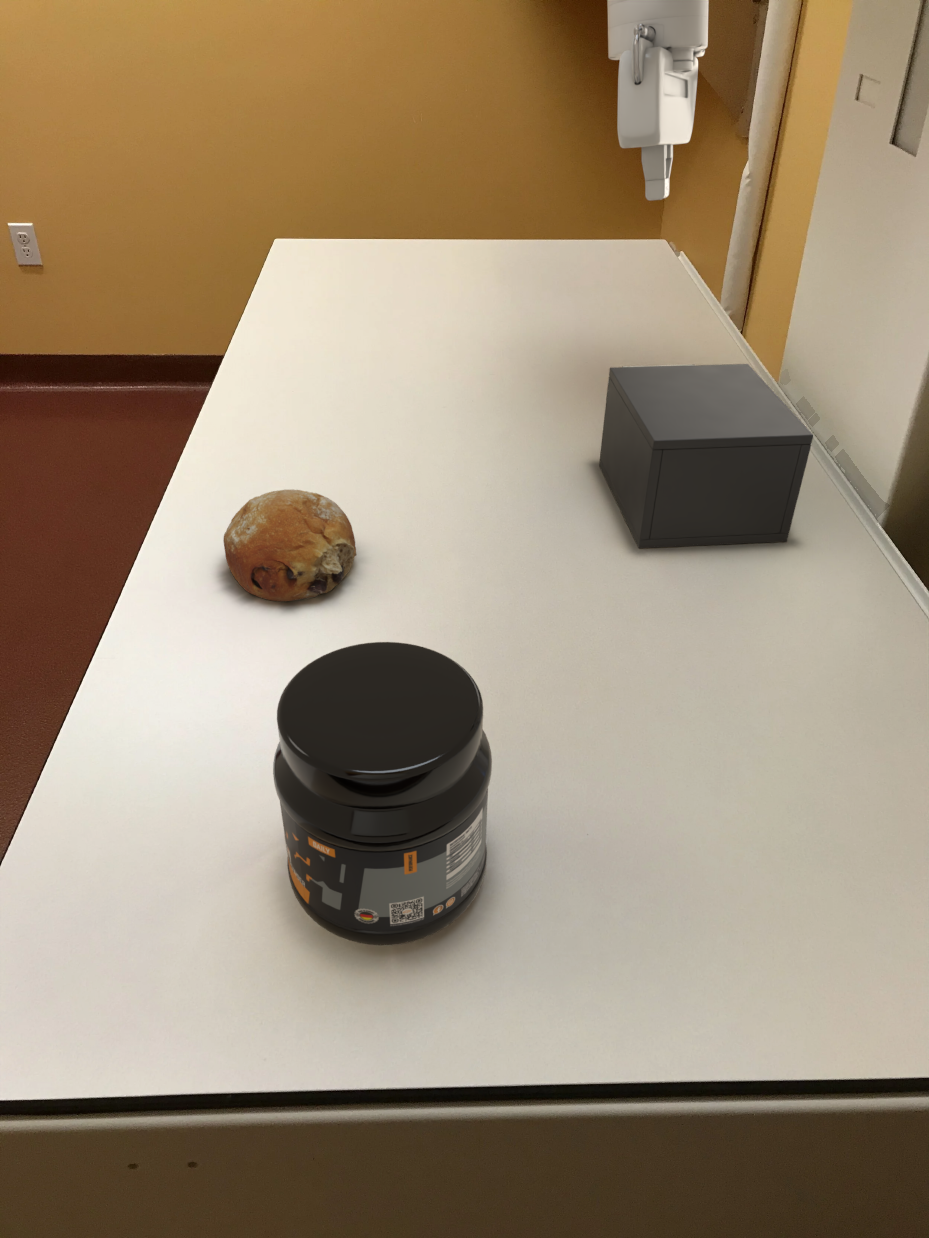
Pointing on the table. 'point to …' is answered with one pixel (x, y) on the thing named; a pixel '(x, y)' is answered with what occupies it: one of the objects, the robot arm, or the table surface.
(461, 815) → the supplement container
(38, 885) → the table surface
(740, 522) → the dark grey cabinet
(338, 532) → the bread roll
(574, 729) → the table surface
